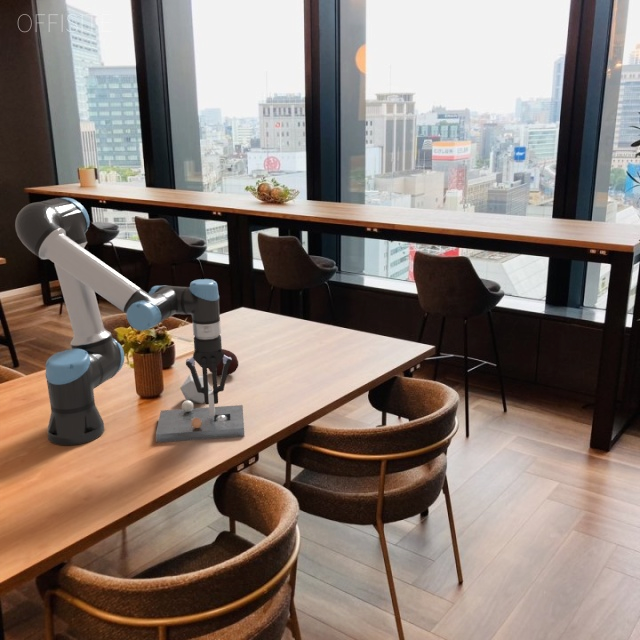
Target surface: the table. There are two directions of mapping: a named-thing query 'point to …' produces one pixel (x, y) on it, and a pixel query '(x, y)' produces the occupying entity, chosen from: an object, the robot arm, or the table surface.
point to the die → (193, 390)
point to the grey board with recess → (179, 425)
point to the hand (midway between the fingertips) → (212, 413)
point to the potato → (232, 366)
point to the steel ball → (221, 418)
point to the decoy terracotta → (196, 423)
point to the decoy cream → (187, 406)
